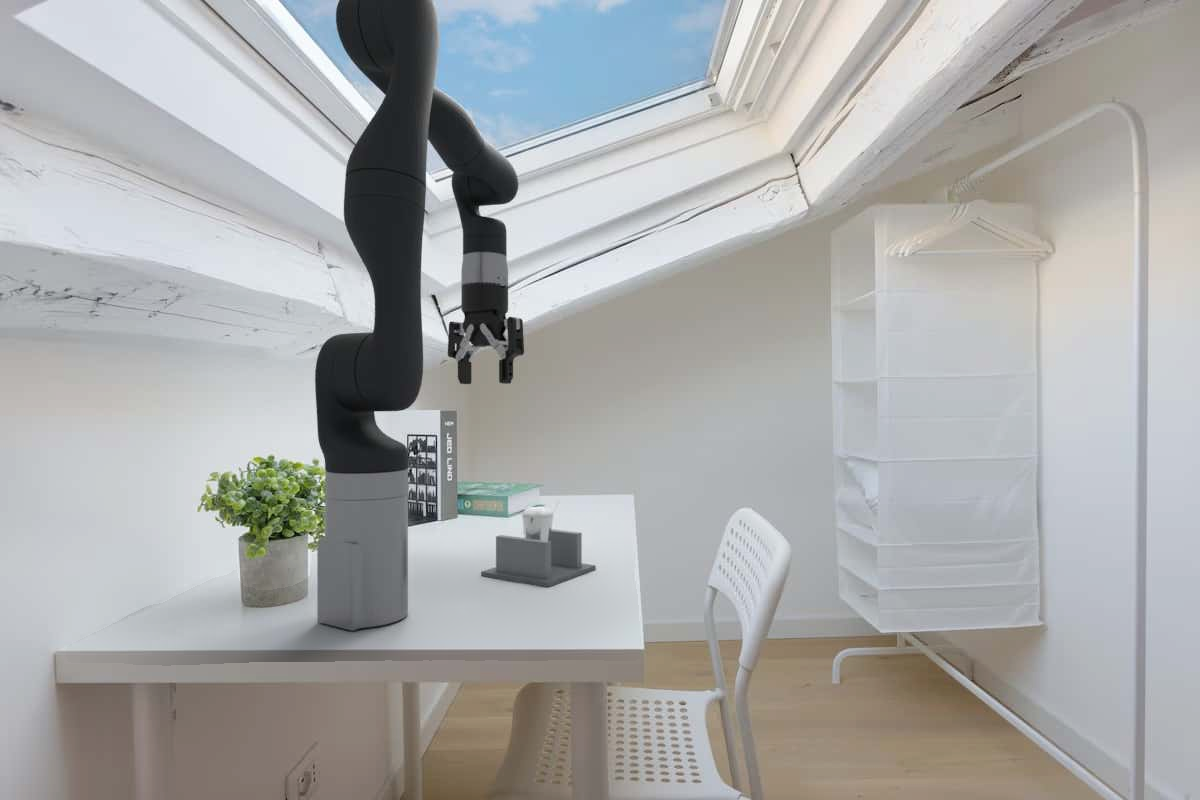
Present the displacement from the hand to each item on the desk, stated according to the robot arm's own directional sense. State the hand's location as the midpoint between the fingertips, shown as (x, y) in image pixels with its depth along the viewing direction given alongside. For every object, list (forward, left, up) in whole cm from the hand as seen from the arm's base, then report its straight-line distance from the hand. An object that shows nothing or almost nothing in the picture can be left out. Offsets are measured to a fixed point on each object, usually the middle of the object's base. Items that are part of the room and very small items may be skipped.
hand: (485, 383), depth 116 cm
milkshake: (-4, -14, -28) cm, 31 cm away
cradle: (-4, -14, -28) cm, 32 cm away
